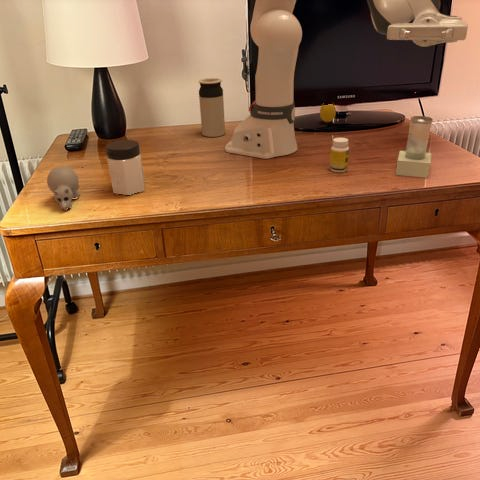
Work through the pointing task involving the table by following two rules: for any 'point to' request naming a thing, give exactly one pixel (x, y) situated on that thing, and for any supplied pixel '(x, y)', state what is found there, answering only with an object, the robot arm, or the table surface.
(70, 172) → the round bodied animal figurine
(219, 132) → the travel mug
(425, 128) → the clear glass canister
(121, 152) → the jar
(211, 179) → the table surface
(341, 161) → the supplement bottle
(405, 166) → the block
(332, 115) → the lemon
